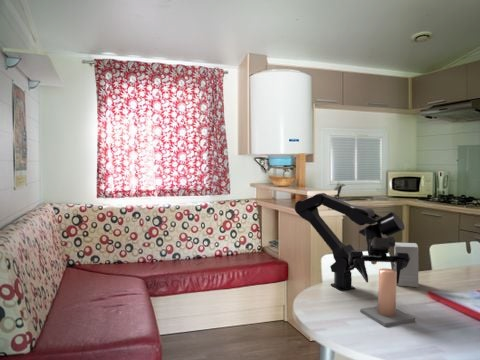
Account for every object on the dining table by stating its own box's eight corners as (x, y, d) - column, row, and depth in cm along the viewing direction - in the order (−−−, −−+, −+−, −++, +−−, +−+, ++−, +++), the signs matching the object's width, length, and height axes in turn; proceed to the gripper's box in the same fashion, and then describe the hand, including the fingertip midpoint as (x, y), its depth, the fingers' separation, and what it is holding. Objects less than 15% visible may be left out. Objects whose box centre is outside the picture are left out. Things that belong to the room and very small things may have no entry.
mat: (360, 311, 116) (360, 308, 115) (388, 307, 119) (388, 304, 119) (384, 326, 105) (384, 323, 105) (415, 321, 109) (415, 318, 109)
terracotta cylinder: (374, 310, 114) (375, 269, 113) (387, 309, 115) (388, 267, 115) (385, 317, 109) (386, 273, 109) (399, 315, 111) (400, 272, 110)
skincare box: (416, 282, 144) (417, 242, 143) (418, 288, 137) (420, 246, 137) (392, 280, 147) (394, 241, 146) (394, 286, 140) (395, 244, 139)
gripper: (350, 226, 123) (356, 268, 113) (409, 228, 121) (420, 271, 110) (345, 244, 131) (350, 285, 121) (400, 246, 129) (410, 288, 118)
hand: (382, 282), depth 117 cm, fingers open, 9 cm apart
